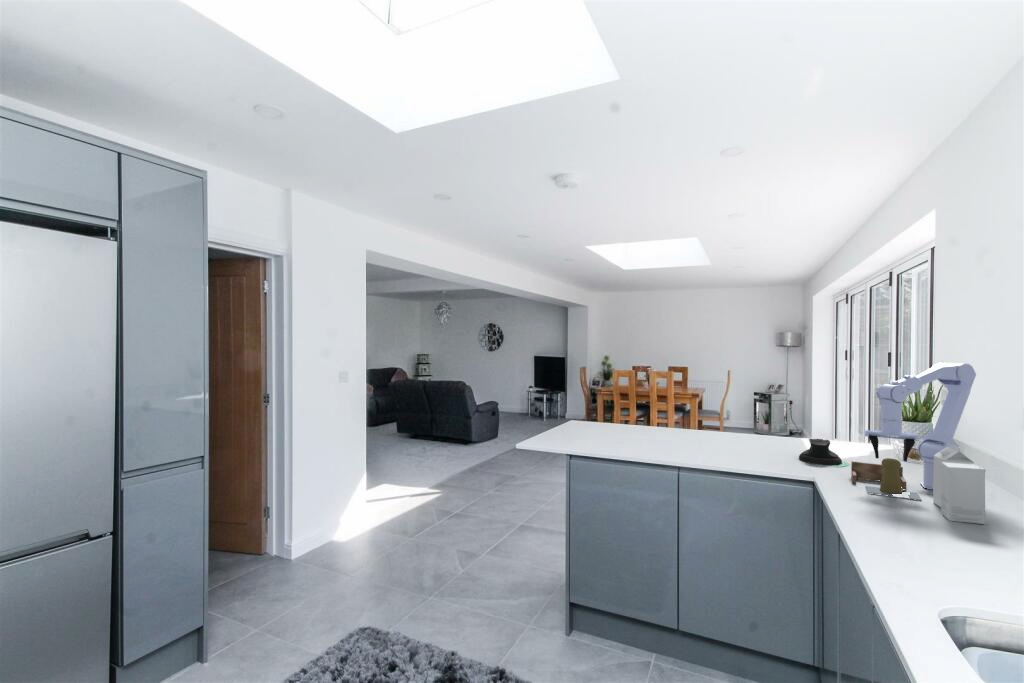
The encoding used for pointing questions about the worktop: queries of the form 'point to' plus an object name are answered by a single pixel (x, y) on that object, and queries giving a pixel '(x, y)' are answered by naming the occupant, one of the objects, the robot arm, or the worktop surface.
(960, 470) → the skincare box
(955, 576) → the worktop surface
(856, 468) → the walnut bay
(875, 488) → the slate mat
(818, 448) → the black knob handle
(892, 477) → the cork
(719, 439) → the worktop surface
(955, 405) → the robot arm
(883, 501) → the worktop surface
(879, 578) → the worktop surface
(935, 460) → the milk carton
